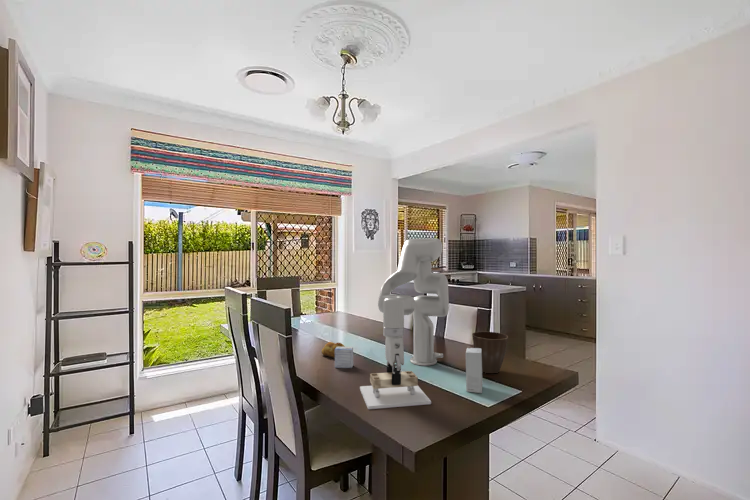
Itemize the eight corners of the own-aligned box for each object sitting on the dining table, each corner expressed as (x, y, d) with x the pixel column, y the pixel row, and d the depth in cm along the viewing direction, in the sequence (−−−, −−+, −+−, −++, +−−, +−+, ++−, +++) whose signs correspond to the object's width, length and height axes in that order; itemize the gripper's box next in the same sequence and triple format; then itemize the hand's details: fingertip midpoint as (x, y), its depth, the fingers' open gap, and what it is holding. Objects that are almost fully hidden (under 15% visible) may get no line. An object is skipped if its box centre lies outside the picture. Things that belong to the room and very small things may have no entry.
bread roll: (317, 356, 179) (317, 340, 179) (328, 352, 187) (328, 336, 187) (339, 360, 173) (339, 343, 173) (349, 355, 181) (349, 339, 182)
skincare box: (482, 393, 132) (482, 353, 132) (465, 391, 133) (465, 352, 133) (482, 385, 140) (482, 347, 140) (466, 384, 141) (466, 346, 141)
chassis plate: (415, 385, 140) (415, 373, 140) (431, 404, 123) (431, 390, 123) (359, 389, 136) (359, 377, 136) (368, 409, 118) (368, 395, 118)
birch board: (411, 379, 134) (411, 371, 134) (417, 385, 127) (417, 377, 127) (370, 381, 131) (370, 373, 131) (373, 388, 124) (373, 380, 124)
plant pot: (490, 364, 166) (490, 330, 166) (515, 374, 153) (515, 336, 153) (465, 369, 160) (465, 333, 160) (489, 379, 146) (489, 340, 146)
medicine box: (353, 365, 165) (353, 346, 165) (351, 368, 160) (351, 349, 160) (336, 364, 165) (336, 346, 166) (334, 368, 161) (334, 348, 161)
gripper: (410, 336, 122) (410, 389, 121) (397, 326, 139) (397, 372, 138) (389, 337, 120) (389, 390, 120) (378, 327, 137) (378, 373, 137)
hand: (393, 380), depth 129 cm, fingers closed on birch board, 7 cm apart
